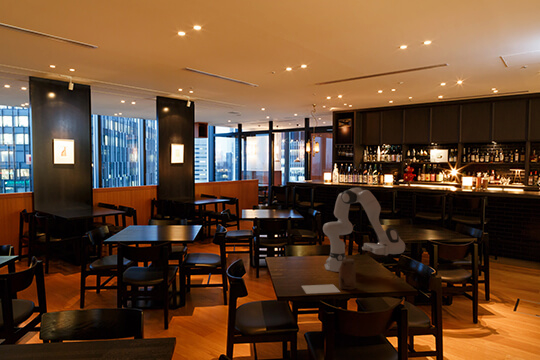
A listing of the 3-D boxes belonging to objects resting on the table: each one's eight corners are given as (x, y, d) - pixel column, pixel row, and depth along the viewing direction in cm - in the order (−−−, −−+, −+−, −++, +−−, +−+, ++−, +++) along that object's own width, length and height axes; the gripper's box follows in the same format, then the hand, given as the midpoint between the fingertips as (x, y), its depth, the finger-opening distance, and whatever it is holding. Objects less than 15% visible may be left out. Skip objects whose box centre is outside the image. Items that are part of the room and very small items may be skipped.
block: (354, 286, 240) (354, 257, 239) (356, 290, 232) (356, 260, 232) (338, 286, 241) (338, 257, 240) (339, 290, 233) (340, 260, 232)
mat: (301, 286, 240) (301, 285, 240) (333, 284, 243) (333, 284, 243) (306, 293, 225) (306, 293, 225) (340, 292, 229) (340, 291, 229)
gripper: (375, 240, 249) (356, 241, 247) (388, 246, 229) (368, 247, 227) (375, 249, 249) (356, 249, 247) (388, 255, 229) (368, 256, 227)
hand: (362, 248), depth 237 cm, fingers closed
